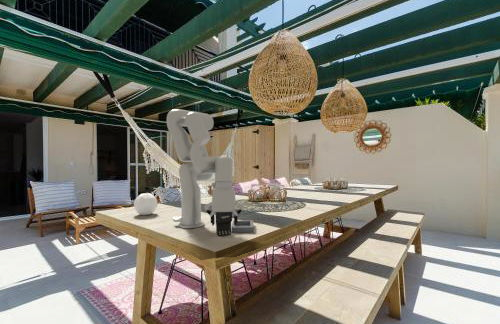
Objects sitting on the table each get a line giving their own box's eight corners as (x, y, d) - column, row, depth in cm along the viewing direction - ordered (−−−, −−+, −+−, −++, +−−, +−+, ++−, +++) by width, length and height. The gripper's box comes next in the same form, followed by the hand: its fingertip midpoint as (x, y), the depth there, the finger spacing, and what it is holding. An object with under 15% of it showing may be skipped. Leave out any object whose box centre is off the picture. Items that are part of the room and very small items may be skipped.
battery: (218, 237, 110) (217, 210, 110) (215, 235, 114) (215, 209, 114) (233, 235, 113) (233, 209, 113) (230, 233, 117) (230, 207, 116)
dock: (231, 233, 117) (231, 227, 117) (233, 225, 130) (232, 220, 130) (253, 232, 117) (253, 227, 117) (253, 225, 130) (252, 220, 130)
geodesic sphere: (147, 201, 169) (138, 186, 161) (165, 202, 166) (157, 187, 157) (135, 219, 158) (125, 203, 150) (154, 220, 155) (145, 204, 147)
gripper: (202, 186, 109) (202, 227, 110) (243, 186, 110) (244, 226, 110) (205, 184, 117) (205, 222, 117) (243, 184, 117) (244, 222, 117)
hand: (224, 224), depth 113 cm, fingers open, 9 cm apart
